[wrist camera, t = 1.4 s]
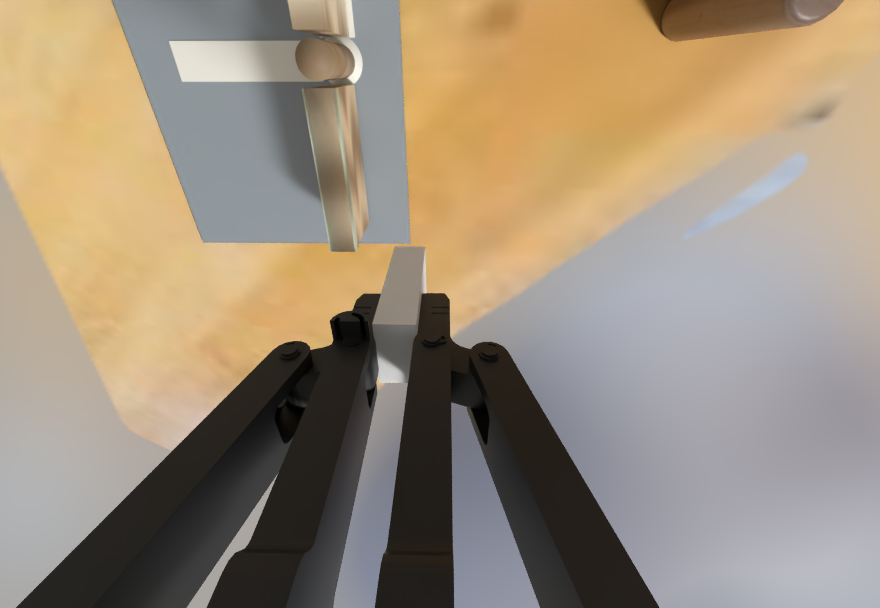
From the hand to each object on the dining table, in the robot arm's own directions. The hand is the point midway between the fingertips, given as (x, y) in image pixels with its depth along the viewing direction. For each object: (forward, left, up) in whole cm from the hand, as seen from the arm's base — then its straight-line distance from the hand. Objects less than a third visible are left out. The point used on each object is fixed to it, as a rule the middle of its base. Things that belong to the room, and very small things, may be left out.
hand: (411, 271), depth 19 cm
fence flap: (-2, -7, -19) cm, 20 cm away
